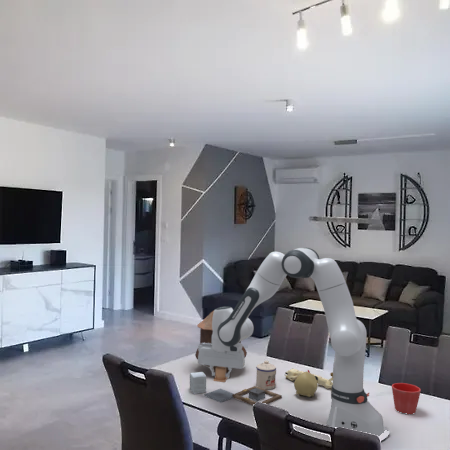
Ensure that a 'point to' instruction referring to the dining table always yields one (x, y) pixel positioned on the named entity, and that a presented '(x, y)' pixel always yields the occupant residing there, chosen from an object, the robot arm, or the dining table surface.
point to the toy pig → (306, 384)
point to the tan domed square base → (220, 374)
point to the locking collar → (247, 400)
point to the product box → (197, 382)
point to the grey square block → (257, 394)
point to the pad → (219, 395)
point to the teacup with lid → (265, 375)
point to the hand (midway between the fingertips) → (220, 376)
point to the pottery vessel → (209, 335)
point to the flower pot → (405, 397)
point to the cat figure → (294, 373)
